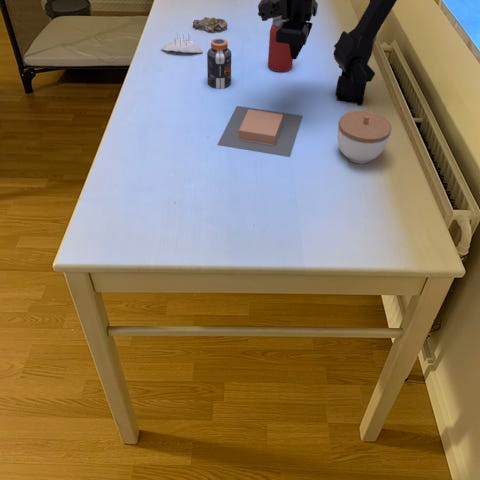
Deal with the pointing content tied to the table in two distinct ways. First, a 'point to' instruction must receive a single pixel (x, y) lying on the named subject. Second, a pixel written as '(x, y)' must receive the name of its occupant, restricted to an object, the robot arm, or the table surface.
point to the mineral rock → (210, 25)
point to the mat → (280, 148)
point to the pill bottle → (219, 64)
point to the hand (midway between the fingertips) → (293, 58)
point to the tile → (260, 127)
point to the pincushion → (182, 46)
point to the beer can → (278, 51)
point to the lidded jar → (363, 135)
